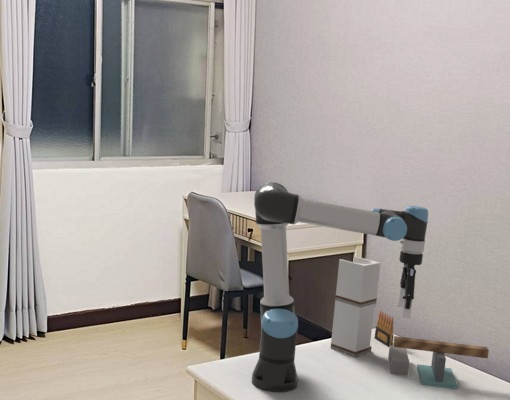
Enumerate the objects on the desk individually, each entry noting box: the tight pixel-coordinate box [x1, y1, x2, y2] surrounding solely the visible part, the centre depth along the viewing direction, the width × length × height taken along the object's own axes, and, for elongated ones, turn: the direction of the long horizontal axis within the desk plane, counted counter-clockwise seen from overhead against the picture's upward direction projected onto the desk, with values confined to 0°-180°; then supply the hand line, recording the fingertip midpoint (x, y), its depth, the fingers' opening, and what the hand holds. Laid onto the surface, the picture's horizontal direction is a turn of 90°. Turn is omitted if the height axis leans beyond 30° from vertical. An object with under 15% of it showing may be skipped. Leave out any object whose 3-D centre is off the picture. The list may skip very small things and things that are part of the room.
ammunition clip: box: [374, 310, 394, 348], centre depth 280 cm, size 11×2×12 cm, turn 22°
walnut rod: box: [393, 335, 490, 359], centre depth 245 cm, size 32×3×3 cm, turn 82°
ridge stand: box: [416, 352, 459, 390], centre depth 246 cm, size 12×16×10 cm
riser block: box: [387, 345, 410, 377], centre depth 254 cm, size 6×16×5 cm, turn 172°
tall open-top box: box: [330, 256, 381, 358], centre depth 266 cm, size 11×11×35 cm
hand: (403, 312), depth 240 cm, fingers open, 13 cm apart
